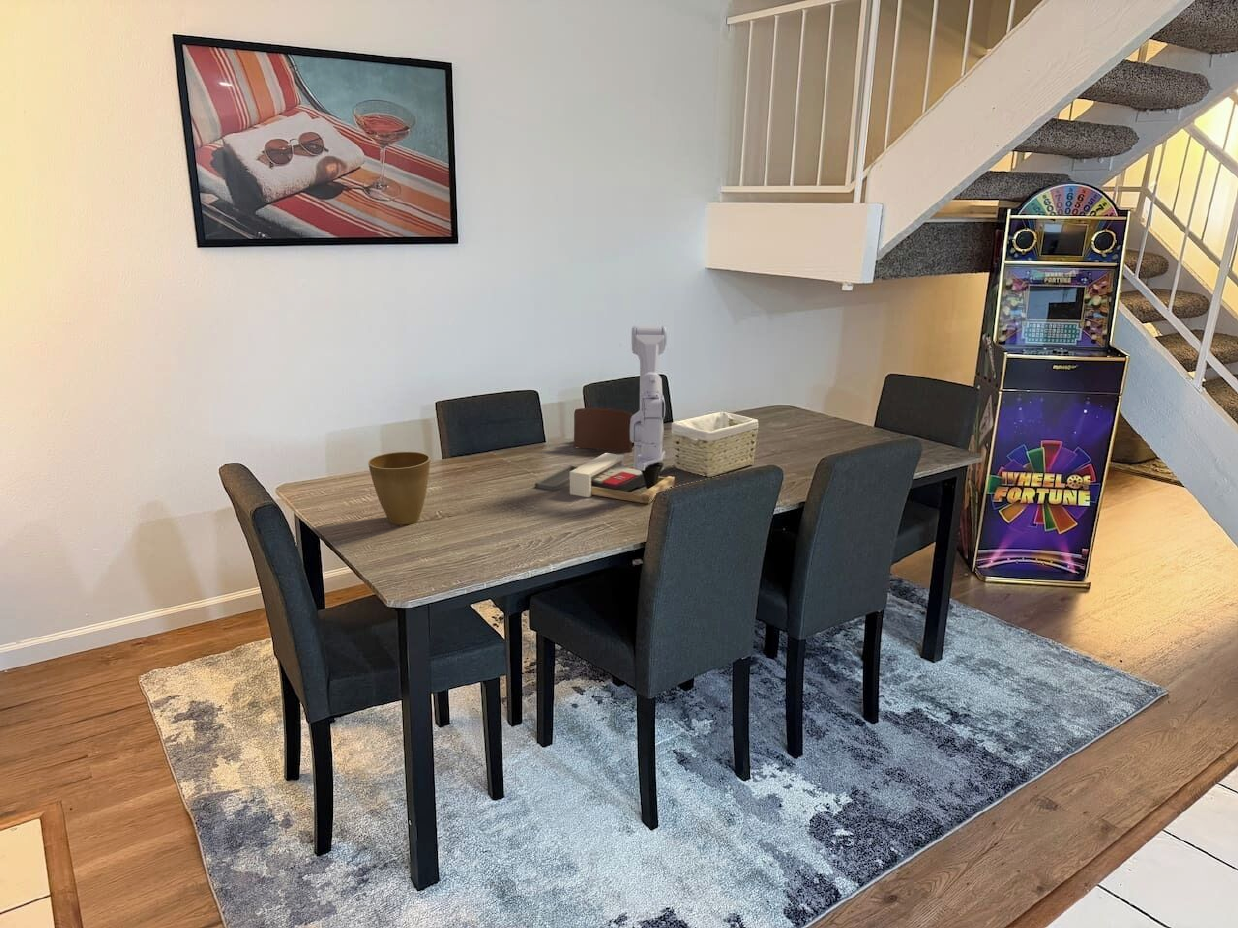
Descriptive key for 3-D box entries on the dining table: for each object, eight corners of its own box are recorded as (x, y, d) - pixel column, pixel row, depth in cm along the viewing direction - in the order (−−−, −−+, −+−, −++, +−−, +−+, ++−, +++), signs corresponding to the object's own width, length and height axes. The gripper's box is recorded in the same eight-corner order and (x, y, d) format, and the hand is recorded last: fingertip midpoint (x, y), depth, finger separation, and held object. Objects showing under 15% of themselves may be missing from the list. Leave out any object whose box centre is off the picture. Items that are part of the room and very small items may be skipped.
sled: (608, 475, 260) (608, 467, 259) (674, 485, 251) (674, 477, 250) (578, 492, 244) (578, 483, 243) (648, 503, 235) (648, 494, 234)
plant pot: (408, 506, 231) (405, 448, 227) (445, 519, 222) (442, 458, 218) (360, 521, 220) (355, 460, 216) (397, 534, 211) (392, 471, 207)
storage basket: (706, 480, 257) (708, 431, 253) (667, 468, 269) (668, 421, 265) (758, 465, 273) (761, 419, 269) (719, 454, 284) (721, 410, 280)
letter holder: (631, 452, 286) (632, 410, 282) (573, 448, 290) (573, 406, 286) (638, 445, 295) (639, 404, 291) (582, 440, 300) (582, 400, 296)
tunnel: (571, 468, 267) (571, 448, 265) (623, 476, 259) (623, 455, 258) (533, 488, 248) (533, 466, 246) (588, 497, 240) (588, 474, 239)
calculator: (584, 477, 245) (616, 463, 256) (585, 492, 246) (616, 477, 258) (616, 484, 239) (647, 469, 250) (616, 499, 240) (647, 484, 251)
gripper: (649, 434, 248) (648, 479, 252) (627, 445, 235) (626, 493, 239) (672, 436, 245) (671, 483, 249) (651, 448, 233) (650, 497, 236)
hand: (650, 488), depth 244 cm, fingers closed, pressing on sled
